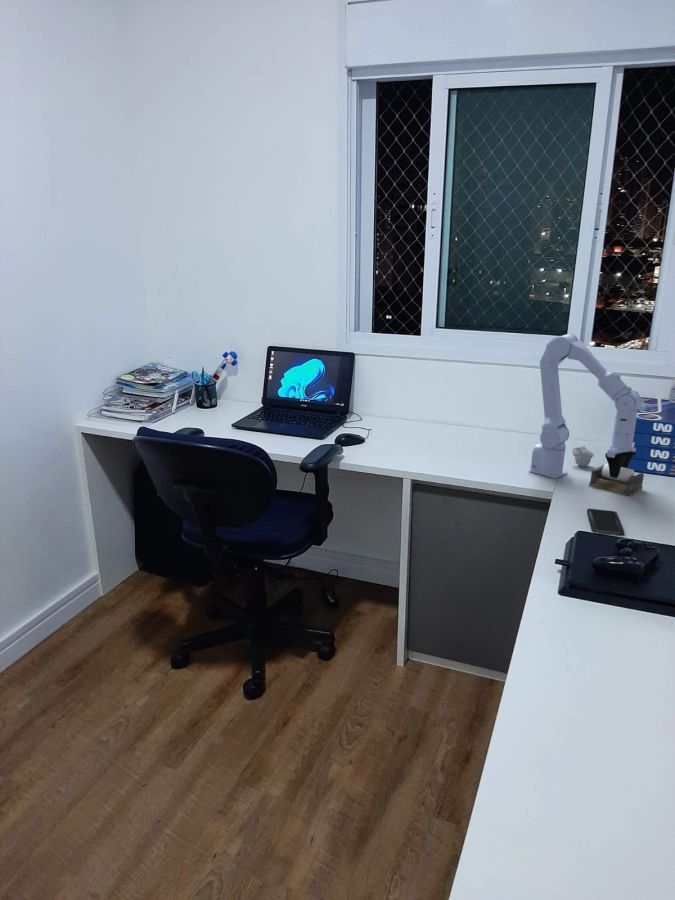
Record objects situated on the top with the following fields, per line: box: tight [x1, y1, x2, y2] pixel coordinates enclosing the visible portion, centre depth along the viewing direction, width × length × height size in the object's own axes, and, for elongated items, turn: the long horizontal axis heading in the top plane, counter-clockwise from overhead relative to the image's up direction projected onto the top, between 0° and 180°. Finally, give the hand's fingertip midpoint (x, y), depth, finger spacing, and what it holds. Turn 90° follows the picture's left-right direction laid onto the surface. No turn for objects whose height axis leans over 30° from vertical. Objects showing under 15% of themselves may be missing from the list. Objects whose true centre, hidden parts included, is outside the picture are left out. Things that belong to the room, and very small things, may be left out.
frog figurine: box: [572, 444, 594, 467], centre depth 221 cm, size 6×7×7 cm
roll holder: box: [588, 463, 645, 497], centre depth 202 cm, size 12×9×5 cm
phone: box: [586, 508, 625, 536], centre depth 176 cm, size 8×1×15 cm
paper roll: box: [602, 462, 635, 483], centre depth 201 cm, size 8×4×4 cm, turn 44°
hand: (617, 475), depth 201 cm, fingers closed on paper roll, 4 cm apart
